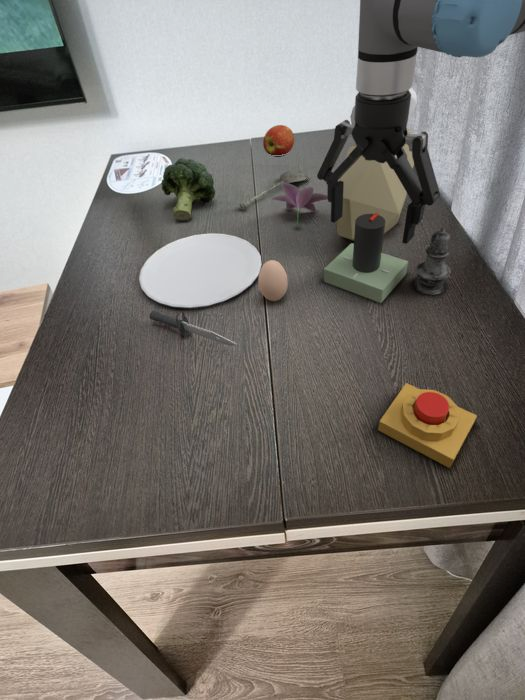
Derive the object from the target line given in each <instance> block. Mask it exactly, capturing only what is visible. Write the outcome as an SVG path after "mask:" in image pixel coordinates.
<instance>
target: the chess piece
mask: <svg viewBox="0 0 525 700" xmlns="http://www.w3.org/2000/svg"><path fill="white" fill-rule="evenodd" d="M445 230H446V229H445V227H444V226H443V227H441V228H440V229H439V230H436V231H434V232H433V233H432V235H431V238H430V243H429V246H428V247H427V248H426V250H425V252H426V258H425V260H423V261H420V262H419V263H417V264H416V266H415V272H416V276H417V279H416V280H414V283H413V285H414V289H415V290H416V291H418V292H420V293H421V294H424V295H427V296H428V295H429V296H435V295H439V294H442V293H443V292H444V291H445V288H446V284H445V281H446V280H447V279H448V277H450V276H451V272H452V271H451V267H450V266H449V265H448V264H447V263H445V262H446V257H447V256H448V255H449V250H448V247H449V244H450V240H451V235H450V234H449V232H448V231H445Z"/></svg>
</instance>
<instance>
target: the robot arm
mask: <svg viewBox="0 0 525 700" xmlns="http://www.w3.org/2000/svg"><path fill="white" fill-rule="evenodd" d="M523 32H525V0H359V22H358V43H357V50H358V51H357V62H356V63H357V64H356V78H355V80H356V81H355V90H356V91H357V92H358V93H357V94H356V95H355V99H354V106H355V116H354V120H355V125H352V124H351V121H349V120H348V119H345V120H343V121H341V122H340V123H338V124H336V125H335V128H334V134H333V139H332V142H331V144H330V147H329V149H328V151H327V153H326V155H325V157H324V159H323V161H322V164H321V166H320V167H319V170H318V172H317V174H316V178H317V179H318V180H320V181H324V182H325V183H326V185H327V195H326V196H327V201H328V203H330V223H333V224H335V223H337V221H338V220H339V219H340V218H341V217H342V212H343V187H344V182H343V181H339V182H338V180H339V179H340V178H341V177H342V176H343V175H344V173H345V172H346V171H347V170H348V169H349V168H350V167H351V166H352V165H353V164H354V163H355V162H356V161H357V160H358V159H359V158H360V157H361V156H363V157H364V158H365V160H369V161H371V160H375V161H377V162H379V163H385V162H387V163H388V165H389V167H390V168H391V169H393V170H394V171H395V173H396V175H397V176H398V178H399V180H400V182H401V183H402V185H403V187H404V189H405V190H406V192H407V196H408V197H409V199H410V201H411V202H410V203H409V204H408V205H407V209H406V216H405V221H404V228H403V235H402V242H401V243H402V244H408V243H409V242H410V241H411V240H412V239H413V238H414V236H415V231H416V226H417V225H419V223H421V221H423V219H424V214H425V208H426V206H432V205H433V204H434V203H435V202H437V200H438V199H439V198H441V192H440V188H439V185H438V181H437V178H436V174H435V170H434V168H433V163H432V159H431V156H430V152H429V149H428V143H429V133H428V132H427V131H421V132H420V133H412V134H408V132H407V130H408V127H407V126H408V121H409V120H408V116H409V109H410V101H411V93H410V92H409V89H411V88H413V83H414V77H415V69H416V63H417V54H418V48H422V49H426V50H430V51H435V52H439V53H442V54H443V53H444V54H445V55H447V56H452V57H454V58H462V57H467V58H468V57H469V58H483V57H486V56H488V55H490V54H492V53H493V52H494V51H495V50H496V49H497V47H498V46H500V45H501V44H503V43H504V42H505V41H507V38H509V36H513V35H516V34H520V33H523ZM349 138H352V140H353V141H354V143H355V144H356V145H357V146H356V148H355V149H354V150H353V151H352V152H351V153H350V154H349V156H348V157H347V158H346V157H345V158H346V159H345V158H344V160H343V161H342V162H341V163H340V164H339V165H338V167H336V168H335V170H333V169H334V167H335V165H336V163H337V161H338V159H339V157H340V155H341V152H342V151H343V149H344V147H345V145H346V143H347V140H348V139H349ZM405 144H407V145H408V146H409V151H412V157H413V161H414V168H415V170H414V168H413V169H412V167H411V165H410V163H409V162H408V160H407V154H406V152H405V151H404V149H403V146H404V145H405ZM395 155H396V156H397V159H396V158H395ZM332 170H333V172H332Z"/></svg>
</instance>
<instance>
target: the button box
mask: <svg viewBox="0 0 525 700" xmlns="http://www.w3.org/2000/svg"><path fill="white" fill-rule="evenodd" d="M425 392H435V393H438V394H440V395H442V396H443V397H444V398H445V399H446V400H447V401H448V403H449V411H448V413H447V416H446V419H445V420H444V421H443V422H442V423H440V424H437V425H429V424H426V423H423V422H422V421H420V420H419V419H418V418H417V417H416V415H415V413H414V407H415V404H416V400H417V398H418V396H419V395H421V394H422V393H425ZM477 418H478V415H477V414H476V413H473V412H471V411H468V410H466V409H464V408H461V407H459V406H458V405H457V404H456V403H455V402H454V400H452V398H451V397H450V396H449V395H446V394H444V393H442V392H440V391H438V390H436V389H425V388H424V389H423V388H422V389H421V388H419V387H417V386H414V385H412V384H409V383H407V382H406V383H405V384H404V385H403V386H402V388H401V389H400V391H399V393H398V394H397V395H396V396H395V398H394V400H393V401H392V402H391V404H390V406H389V407H388V408H387V409H386V411H385V413H383V415H382V416H381V418H380V420H379V422H378V428H377V430H378V431H379V432H381V433H382V434H384V435H386V436H388V437H390V438H392V439H393V440H396V441H398V442H399V443H401V444H403V445H405V446H407V447H409V448H410V449H412V450H414V451H416V452H418V453H420V454H422V455H424V456H426V457H427V458H430V459H431V460H433V461H435V462H437V463H438V464H441V465H443V466H444V467H447V468H448V469H451V467H452V466H453V463H454V462H455V460H456V457H458V454H459V453H460V450H461V448H462V447H463V445H464V443H465V441H466V438H467V437H468V436H469V433H470V431H471V429H472V428H473V426H474V424H475V422H476V419H477Z"/></svg>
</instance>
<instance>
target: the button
mask: <svg viewBox="0 0 525 700" xmlns="http://www.w3.org/2000/svg"><path fill="white" fill-rule="evenodd" d="M448 411H449V403H448V401H447V400H446V399H445V398H444V397H443V396H442V395H440V394H438V393H435V392H425V393H422V394H421V395H419V396H418V398H417V400H416V404H415V407H414V413H415V415H416V417H417V418H418V419H419V420H420V421H422V422H423V423H426V424H429V425H437V424H440V423H442V422H443V421H444V420H445V419H446V416H447V413H448Z"/></svg>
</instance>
